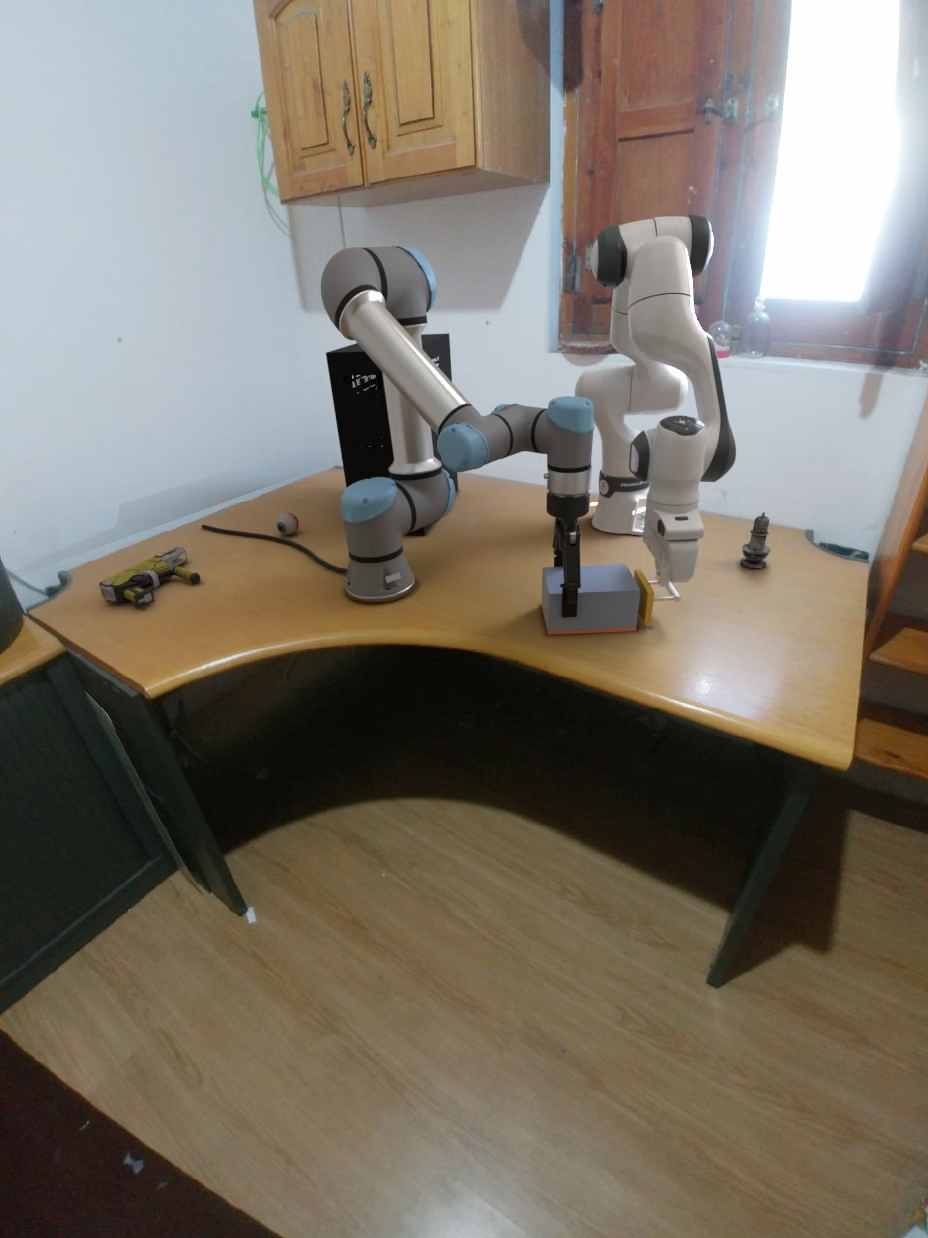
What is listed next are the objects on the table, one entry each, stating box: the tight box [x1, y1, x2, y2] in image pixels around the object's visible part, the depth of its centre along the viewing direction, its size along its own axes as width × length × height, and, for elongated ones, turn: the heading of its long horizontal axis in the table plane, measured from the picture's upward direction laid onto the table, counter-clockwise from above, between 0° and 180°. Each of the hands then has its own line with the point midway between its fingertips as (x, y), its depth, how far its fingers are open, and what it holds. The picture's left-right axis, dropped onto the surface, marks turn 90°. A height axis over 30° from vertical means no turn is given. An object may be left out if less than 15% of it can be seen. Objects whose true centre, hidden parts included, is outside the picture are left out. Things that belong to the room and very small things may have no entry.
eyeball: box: [275, 511, 300, 536], centre depth 163 cm, size 6×6×6 cm
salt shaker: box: [739, 511, 772, 569], centre depth 132 cm, size 6×6×12 cm
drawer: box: [633, 568, 682, 626], centre depth 116 cm, size 21×10×7 cm, turn 90°
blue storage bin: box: [541, 563, 640, 636], centre depth 116 cm, size 16×11×9 cm
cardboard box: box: [325, 333, 459, 536], centre depth 166 cm, size 38×20×45 cm, turn 167°
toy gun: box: [98, 546, 201, 609], centre depth 140 cm, size 5×24×15 cm
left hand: (564, 600), depth 116 cm, fingers closed on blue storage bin, 11 cm apart
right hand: (662, 583), depth 114 cm, fingers closed
